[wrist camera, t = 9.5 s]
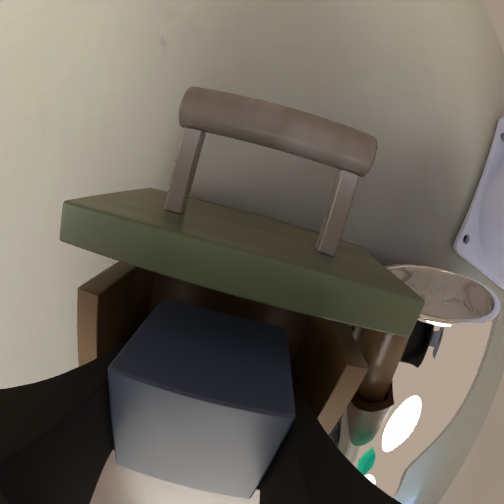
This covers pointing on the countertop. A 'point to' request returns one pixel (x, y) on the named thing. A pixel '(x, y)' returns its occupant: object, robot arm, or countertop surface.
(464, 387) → the beige cup
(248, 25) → the countertop surface
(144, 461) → the block
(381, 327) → the drawer
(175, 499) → the cabinet
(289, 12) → the countertop surface
